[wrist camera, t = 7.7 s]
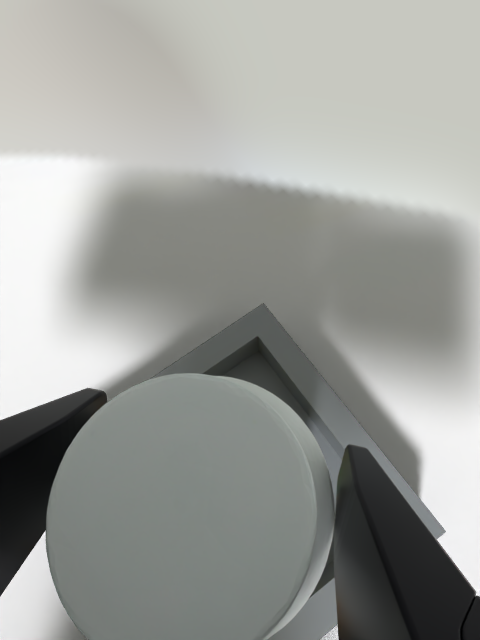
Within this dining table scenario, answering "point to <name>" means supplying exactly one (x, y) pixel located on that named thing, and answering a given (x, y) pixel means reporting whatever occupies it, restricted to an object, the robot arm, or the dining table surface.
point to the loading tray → (315, 411)
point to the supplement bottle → (189, 514)
